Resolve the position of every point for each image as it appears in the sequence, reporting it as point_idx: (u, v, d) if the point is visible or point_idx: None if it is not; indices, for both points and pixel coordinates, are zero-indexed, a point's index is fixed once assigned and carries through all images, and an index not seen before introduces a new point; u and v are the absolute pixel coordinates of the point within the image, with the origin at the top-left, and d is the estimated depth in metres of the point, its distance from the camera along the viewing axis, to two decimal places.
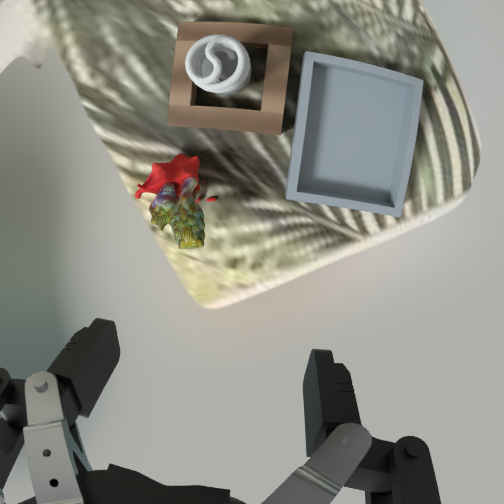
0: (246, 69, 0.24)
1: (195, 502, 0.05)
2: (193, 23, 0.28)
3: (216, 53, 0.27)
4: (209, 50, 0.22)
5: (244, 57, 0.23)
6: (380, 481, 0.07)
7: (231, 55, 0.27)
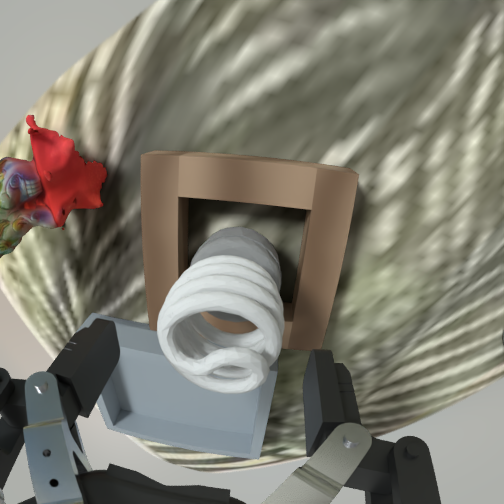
0: None
1: (195, 502, 0.05)
2: (350, 202, 0.18)
3: None
4: (228, 364, 0.11)
5: (222, 392, 0.13)
6: (380, 481, 0.07)
7: None
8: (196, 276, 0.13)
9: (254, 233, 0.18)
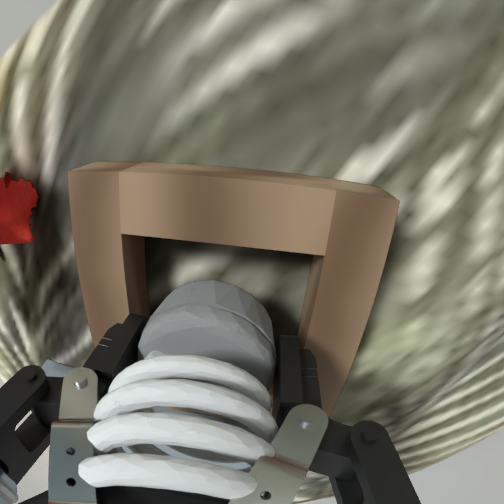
0: None
1: (195, 502, 0.05)
2: (384, 244, 0.11)
3: (254, 362, 0.10)
4: None
5: None
6: (343, 469, 0.07)
7: None
8: (128, 402, 0.07)
9: (235, 293, 0.12)
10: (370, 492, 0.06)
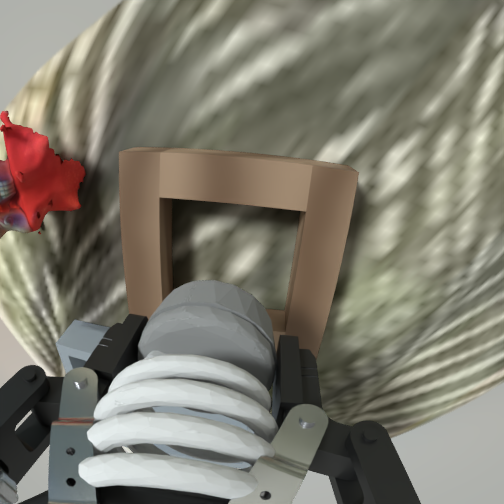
0: None
1: (195, 502, 0.05)
2: (349, 203, 0.16)
3: (254, 362, 0.10)
4: None
5: None
6: (343, 469, 0.07)
7: None
8: (128, 402, 0.07)
9: (235, 293, 0.12)
10: (370, 492, 0.06)
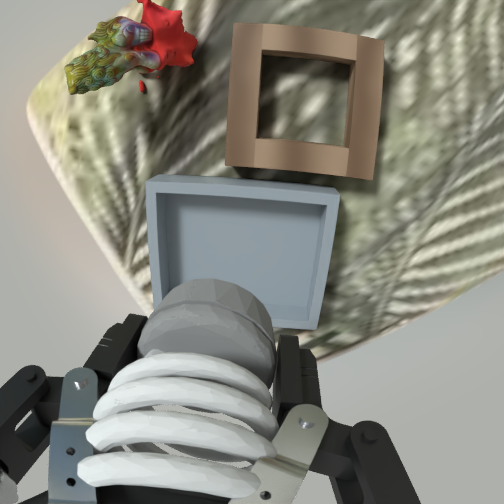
0: None
1: (195, 502, 0.05)
2: (381, 57, 0.22)
3: (254, 361, 0.10)
4: None
5: None
6: (343, 469, 0.07)
7: None
8: (128, 401, 0.07)
9: (235, 291, 0.12)
10: (370, 492, 0.06)
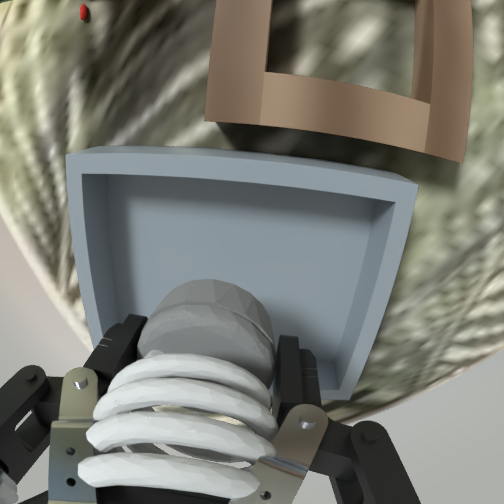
0: None
1: (195, 502, 0.05)
2: None
3: (253, 361, 0.10)
4: None
5: None
6: (343, 469, 0.07)
7: None
8: (128, 401, 0.07)
9: (234, 292, 0.12)
10: (370, 492, 0.06)
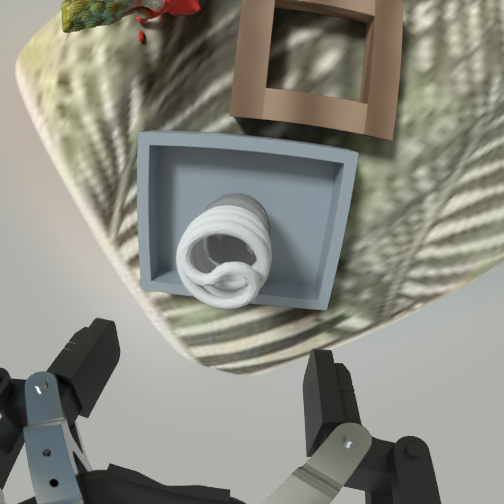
0: None
1: (195, 502, 0.05)
2: (400, 16, 0.18)
3: None
4: (230, 272, 0.16)
5: (224, 308, 0.18)
6: (380, 481, 0.07)
7: (252, 249, 0.22)
8: (207, 216, 0.18)
9: (249, 197, 0.23)
10: None
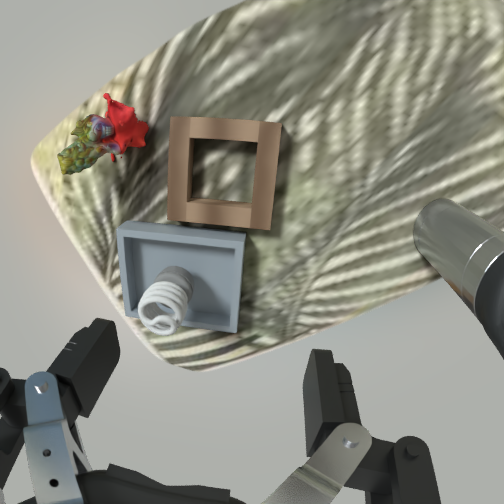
0: (158, 328, 0.36)
1: (195, 502, 0.05)
2: (278, 138, 0.34)
3: (184, 287, 0.39)
4: (161, 320, 0.33)
5: None
6: (380, 481, 0.07)
7: None
8: (152, 289, 0.35)
9: (181, 269, 0.40)
10: None
